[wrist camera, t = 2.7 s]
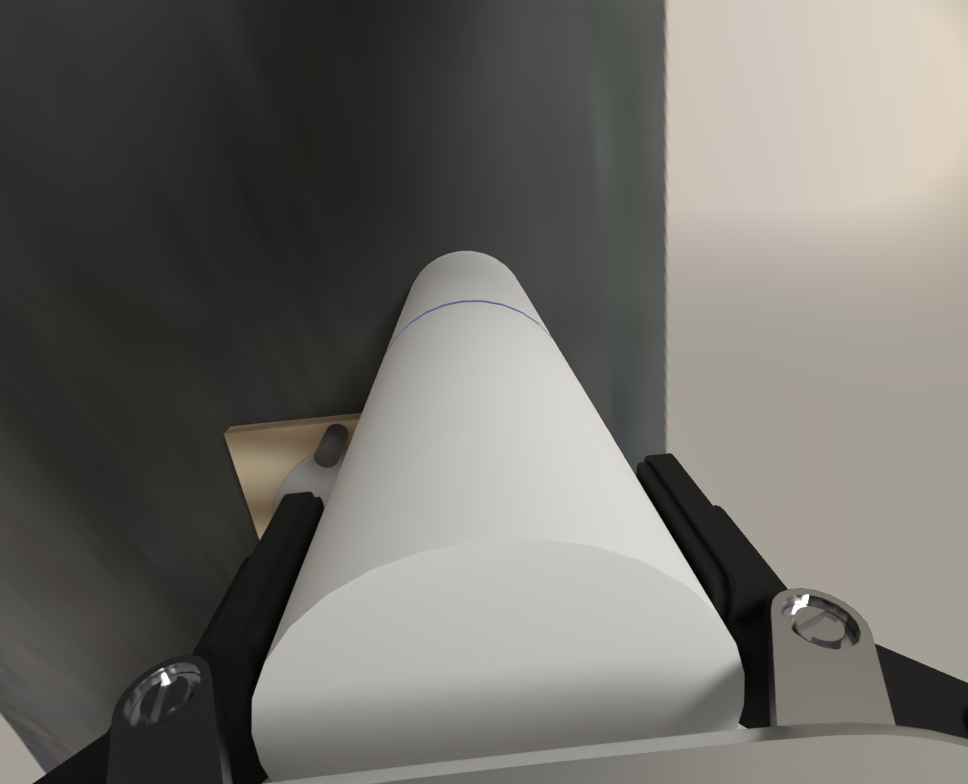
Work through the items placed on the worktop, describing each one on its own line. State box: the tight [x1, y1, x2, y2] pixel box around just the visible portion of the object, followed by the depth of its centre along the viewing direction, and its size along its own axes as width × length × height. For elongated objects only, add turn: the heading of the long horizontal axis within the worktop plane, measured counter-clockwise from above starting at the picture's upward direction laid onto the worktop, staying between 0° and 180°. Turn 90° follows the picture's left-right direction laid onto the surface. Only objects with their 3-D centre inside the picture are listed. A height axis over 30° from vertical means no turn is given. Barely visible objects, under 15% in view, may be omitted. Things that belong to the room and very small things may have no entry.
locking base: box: [224, 413, 362, 540], centre depth 33 cm, size 14×14×4 cm
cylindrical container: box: [252, 251, 745, 782], centre depth 19 cm, size 7×7×25 cm
